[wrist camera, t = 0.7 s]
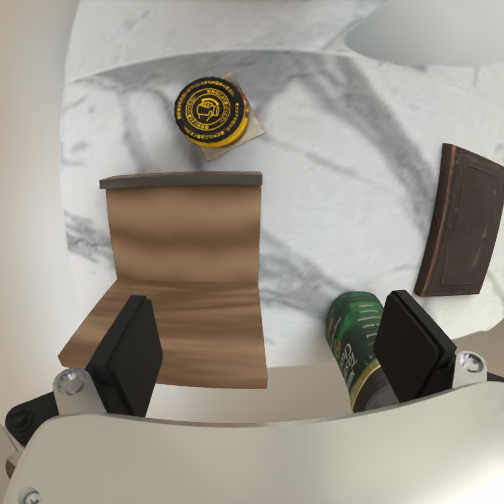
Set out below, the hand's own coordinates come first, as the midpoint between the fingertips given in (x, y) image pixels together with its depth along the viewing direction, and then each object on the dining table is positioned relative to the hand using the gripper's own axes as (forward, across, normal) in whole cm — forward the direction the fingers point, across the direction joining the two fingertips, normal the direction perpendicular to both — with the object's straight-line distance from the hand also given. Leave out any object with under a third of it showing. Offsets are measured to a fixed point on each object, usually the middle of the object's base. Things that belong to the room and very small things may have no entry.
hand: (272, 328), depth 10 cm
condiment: (+24, +4, -10) cm, 27 cm away
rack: (+24, +8, +3) cm, 25 cm away
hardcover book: (+25, -34, +2) cm, 42 cm away
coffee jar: (+24, -14, +17) cm, 33 cm away
